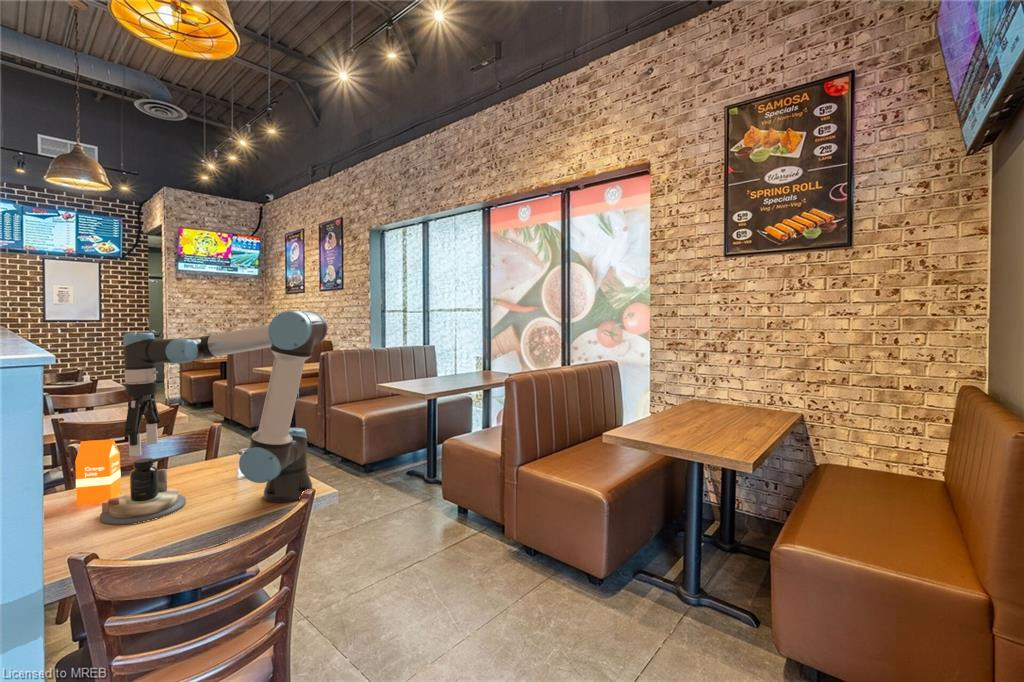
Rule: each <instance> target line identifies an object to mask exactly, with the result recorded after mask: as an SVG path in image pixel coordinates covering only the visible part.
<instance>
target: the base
mask: <svg viewBox="0 0 1024 682" xmlns="http://www.w3.org/2000/svg"><path fill="white" fill-rule="evenodd" d="M186 500H187V499H186V497H185V496H184V495H181V494H178V502H177V503H176V504H175V505H173V506H171V507H170V508H167V509H165V510H162V511H159V512H156V513H153V514H149V515H144V516H139V517H131V518H115V517H112V516H110V515H109V507H108V501H104V502H102V503H101V513H100V514H99V521H100V523H102V524H104V525H107V526H128V525H129V524H130V525H135V524H134V523H137V524H139V523H138V522H142V523H144V522H143V521H147V520H151V521H153V520H152V519H155V518H158V519H161V518H160V517H162V518H164V517H163V516H165V517H167V516H170V515H171V513H172V514H174V513H176V512H178V511H179V509H180V510H181V509H182V508H184V507H185V506H184V505H186V504H185V503H186V502H187V501H186ZM183 506H184V507H183ZM177 510H178V511H177ZM175 511H176V512H175ZM173 512H174V513H173ZM169 514H170V515H169ZM166 515H167V516H166ZM155 520H156V519H155ZM147 522H148V521H147Z"/></svg>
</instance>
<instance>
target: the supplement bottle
mask: <svg viewBox="0 0 1024 682" xmlns="http://www.w3.org/2000/svg"><path fill="white" fill-rule="evenodd" d="M132 468H134V469H132V470H131V471H130V473H129V490H130V493H129V494H130V495H131V500H132V501H145V500H149V499H152V498H154V497H156V496H157V495H158V470H159V469H158V468H157V467H156V466H154V458H151V457H146V458H145V457H144V458H139V459H136V460H134V461H133V467H132Z"/></svg>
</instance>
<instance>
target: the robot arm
mask: <svg viewBox="0 0 1024 682" xmlns="http://www.w3.org/2000/svg"><path fill="white" fill-rule="evenodd" d="M327 324H328V323H327V321H326V319H325V318H324V317H323V316H322V315H321V314H319V313H318V312H315V311H313V310H312V311H311V310H296V309H291V310H287V311H286V310H285V311H281V312H279V313H278V314H276V315H275V316H274V317H273V318H272V319H271V321H270V323H268V324H267V325H260V326H254V327H249V328H244V329H238V330H232V331H226V332H221V333H215V334H210V335H203V336H195V337H184V338H183V337H181V338H160V339H159V338H156V337H155V334H154V333H153V332H129V333H125V334H124V335H123V345H122V349H123V359H124V360H123V361H124V382H125V383H126V384H125V386H124V387H125V396H127V397H132V400H129V401H128V402H127V414H126V421H125V426H124V427H125V428H124V433H123V435H124V436H128V453H129V457H138V456H142V434H141V433H140V429H141V426H142V421H143V417H144V418H145V421H146V423H147V424H146V425H145V428H146V429H145V430H146V431H145V433H146V445H155V444H158V443H159V438H158V437H159V436H158V424H160V423H161V418H160V415H159V411H158V406H157V402H156V396H155V395H156V394H157V393H158V388H157V387H158V386H157V382H156V380H157V375H158V374H159V371H158V370H157V369H156V368H157V367H156V365H157V364H178V365H179V364H186V363H191V362H193V361H198V360H208V359H212V358H216V357H220V356H227V355H233V354H239V353H244V352H245V353H246V352H249V351H251V352H252V351H256V350H262V349H263V350H264V349H267V348H270V351H271V353H272V355H274V359H273V364H272V367H271V372H270V377H269V380H268V381H269V382H268V387H267V391H266V395H265V399H264V403H263V409H262V411H261V412H262V413H261V417H260V421H259V426H258V430H257V431H255V432H253V433H252V434H251V438H250V442H249V447H248V448H247V449H246V450H244V452H243V453H242V454H241V456H240V457H239V461H238V467H239V471H240V474H243V476H244V478H245V479H246V480H248V481H250V482H252V483H254V484H255V483H256V484H265V483H266V484H265V487H264V490H263V499H264V501H267V502H270V503H276V504H277V503H290V502H294V501H298V499H299V497H300V496H301V494H302V492H303V491H305V490H307V489H312V490H313V482H312V480H311V478H310V475H309V472H308V466H307V465H308V461H307V460H308V458H307V457H308V451H307V450H308V444H307V443H308V442H307V441H308V437H307V431H306V429H305V428H301V427H291V424H292V419H293V415H294V410H295V405H296V402H297V397H298V392H299V388H300V386H301V385H300V384H301V381H302V380H301V379H302V376H303V375H302V374H303V371H304V367H305V363H306V362H305V361H307V360H309V359H310V358H312V355H313V350H314V346H316V345H318V344H320V343H322V342H323V341H324V339H325V338H326V337H327V334H328V325H327ZM299 500H300V499H299Z"/></svg>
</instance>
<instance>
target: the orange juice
mask: <svg viewBox="0 0 1024 682" xmlns="http://www.w3.org/2000/svg"><path fill="white" fill-rule="evenodd" d="M120 454H121V452H120V451H119V448H118V446H117V444H116V442H115V440H114V438H111V439H97V440H96V439H95V440H93V439H92V440H82V441H81V440H80V444H79V448H78V452H77V455H76V458H75V463H74V465H75V488H76V492H75V493H76V506H77V505H78V506H85V505H84V504H87V505H94V504H95V503H97V504H102V502H104V501H108V499H112V498H115V497H116V498H117V497H118V495H119V494H120V493H121V494H122V485H121V476H122V475H121V455H120ZM121 494H120V495H121ZM120 495H119V496H120Z"/></svg>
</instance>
